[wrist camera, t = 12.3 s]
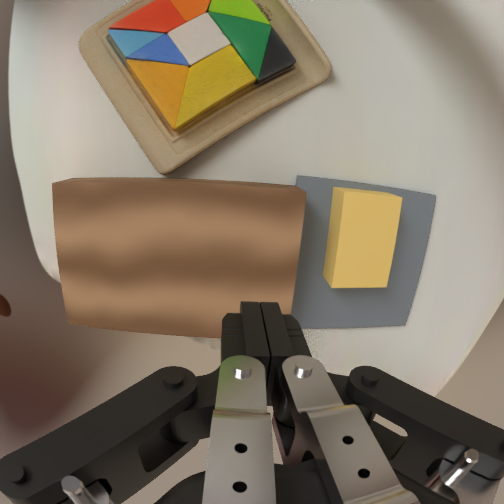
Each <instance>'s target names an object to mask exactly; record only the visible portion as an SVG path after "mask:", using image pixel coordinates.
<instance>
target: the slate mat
mask: <svg viewBox="0 0 504 504" xmlns="http://www.w3.org/2000/svg"><path fill="white" fill-rule="evenodd" d="M296 186H297V187H299V188H301V189H303V190H304V191H306V192H307V194H306V203H305V211H304V220H303V228H302V236H301V244H300V252H299V259H298V266H297V274H296V281H295V288H294V295H293V301H292V308H291V315H292V316H293V317H294V318H295V319H296V320H298V322H299V324H300V327H301V329H307V328H358V327H381V326H400V325H406V321H407V318H408V315H409V312H410V309H411V305H412V302H413V298H414V295H415V291H416V288H417V284H418V280H419V276H420V273H421V269H422V265H423V260H424V256H425V252H426V247H427V243H428V238H429V233H430V228H431V223H432V218H433V212H434V206H435V200H436V196H435V195H431V194H425V193H420V192H414V191H409V190H403V189H397V188H391V187H384V186H378V185H371V184H364V183H357V182H350V181H342V180H334V179H326V178H317V177H308V176H298V175H297V184H296ZM333 187H341V188H351V189H361V190H370V191H379V192H387V193H390V194H393V195H396V196H399V197H402V204H401V211H400V218H399V224H398V231H397V237H396V242H395V248H394V253H393V258H392V264H391V268H390V273H389V278H388V283H387V287H375V288H331V287H330V285H329V284H328V282H327V281H326V280H325V278H324V277H323V269H324V262H325V255H326V247H327V239H328V231H329V222H330V214H331V204H332V194H333Z"/></svg>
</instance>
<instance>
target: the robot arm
mask: <svg viewBox="0 0 504 504" xmlns="http://www.w3.org/2000/svg"><path fill="white" fill-rule="evenodd" d="M267 406H273V411H274V412H273V417H272V425H273V429H274V432H275V436H276V440H277V443H278V447H279V451H280V454H281V458H282V461H283V465H281V464H274V458H273V441H272V425H271V415H270V413H267ZM375 414H378V415H380V416H382V417H384V418H385V419H387V420H389V421H391V422H393V423H394V424H396V425H398V426H400V427H402V428H403V429H405V431H406V432H407V434H408V436H406V437H403V436H400V435H398V434H397V433H395V432H393V431H391V430H389V429H388V428H386V427H384V426H382V425H380V424H379V423H377V422H375V421H373V419H374V417H375ZM208 437H210V439H209V448H208V456H207V465H206V471H204V472H200V473H197V474H194V475H192V476H190V477H188V478H186V479H184V480H182V481H181V482H179V483H178V484H176V485H175V486H174V487H173V488H171V489H170V490H169V491H168V492H167V493H166V494H165V495H163V496H162V497H161V498H160V499H159V500H158V501H157V502H155V503H154V504H492V503H493V501H494V498H495V495H496V492H497V489H498V486H499V483H500V480H501V478H503V477H504V430H503V429H501V428H499V427H497V426H494V425H492V424H490V423H488V422H486V421H483V420H481V419H479V418H477V417H475V416H472V415H470V414H468V413H466V412H464V411H462V410H460V409H458V408H456V407H453V406H451V405H449V404H447V403H445V402H443V401H441V400H439V399H437V398H435V397H433V396H431V395H429V394H427V393H425V392H423V391H421V390H419V389H417V388H415V387H413V386H411V385H409V384H407V383H405V382H403V381H401V380H399V379H397V378H395V377H393V376H391V375H389V374H387V373H385V372H383V371H382V370H380V369H377V368H375V367H371V366H359V367H356V368H354V369H353V370H352V371H351V373H350V375H349V376H343V375H337V374H332V373H329V372H326V370H325V368H324V366H323V364H322V363H321V362H319V361H318V360H316V359H315V358H312V356H311V353H310V350H309V348H308V345H307V343H306V340H305V337H304V335H303V332H302V331H301V327H300V324H299V322H298V320H296V319H295V318H294V317H293V316H292V315H291V314H282V312H281V309H280V306H279V303H278V302H260V303H259V302H252V301H241V302H240V312H239V313H227V314H226V315H225V316H224V318H223V319H222V332H221V365H220V366H219V368H218V369H217V370H215V371H214V372H212V373H210V374H207V375H203V376H197V377H196V376H195V375H194V374H193V373H192V372H191V371H189V370H188V369H186V368H182V367H176V366H170V367H165V368H161V369H159V370H158V371H156V372H154V373H153V374H151V375H149V376H148V377H146V378H144V379H143V380H141V381H139V382H138V383H136V384H134V385H133V386H131V387H129V388H128V389H126V390H124V391H123V392H121V393H119V394H118V395H116V396H114V397H113V398H111V399H109V400H108V401H106V402H104V403H102V404H100V405H99V406H97V407H95V408H93V409H92V410H90V411H88V412H86V413H85V414H83V415H81V416H79V417H78V418H76V419H74V420H72V421H71V422H69V423H67V424H65V425H63V426H62V427H60V428H58V429H56V430H54V431H52V432H50V433H49V434H47V435H45V436H43V437H41V438H39V439H37V440H35V441H34V442H31V443H30V444H28V445H26V446H24V447H22V448H20V449H18V450H16V451H14V452H12V453H10V454H8V455H6V456H4V457H3V458H2V459H0V491H2V493H4V495H5V496H7V498H9V499H10V500H11V501H12V503H13V504H121V503H123V502H124V501H125V500H127V499H128V498H130V497H131V496H132V495H134V494H135V493H137V492H138V491H139V490H141V489H142V488H143V487H145V486H146V485H147V484H149V483H150V482H151V481H153V480H154V479H155V478H156V477H158V476H159V475H160V474H161V473H163V472H164V471H165V470H167V469H168V468H169V467H170V466H171V465H173V464H174V463H175V462H177V461H178V460H179V459H180V458H181V457H183V456H184V455H185V454H186V453H187V452H189V451H190V450H191V449H192V448H193V447H195V446H196V445H197V443H198V441H199V440H200V439H204V438H208Z"/></svg>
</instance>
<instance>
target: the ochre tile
mask: <svg viewBox="0 0 504 504" xmlns="http://www.w3.org/2000/svg"><path fill="white" fill-rule="evenodd" d="M401 204H402V197H399V196H396V195H393V194H390V193H387V192H379V191H370V190H361V189H351V188H341V187H333V194H332V204H331V214H330V222H329V231H328V239H327V247H326V255H325V262H324V269H323V277H324V278H325V280H326V281H327V282H328V284H329V285H330V287H331V288H375V287H387V283H388V278H389V273H390V268H391V264H392V258H393V253H394V248H395V242H396V237H397V231H398V224H399V218H400V211H401Z"/></svg>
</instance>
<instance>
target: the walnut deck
mask: <svg viewBox="0 0 504 504" xmlns="http://www.w3.org/2000/svg"><path fill="white" fill-rule="evenodd" d="M52 192H53V214H54V228H55V239H56V249H57V258H58V266H59V273H60V280H61V286H62V292H63V298H64V303H65V309H66V314H67V319H68V323H69V324H73V325H80V326H88V327H96V328H104V329H112V330H121V331H130V332H140V333H151V334H164V335H176V336H191V337H209V338H221V332H222V319H223V318H224V316H225V315H226V314H227V313H239V312H240V302H241V301H252V302H259V303H260V302H278V303H279V306H280V309H281V312H282V314H291V308H292V301H293V295H294V288H295V281H296V274H297V266H298V259H299V252H300V244H301V236H302V228H303V220H304V211H305V203H306V194H307V192H306V191H304V190H303V189H301V188H299V187H297V186H291V185H280V184H268V183H255V182H240V181H223V180H204V179H178V178H71V179H67V180H63V181H59V182H56V183H52Z"/></svg>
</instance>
